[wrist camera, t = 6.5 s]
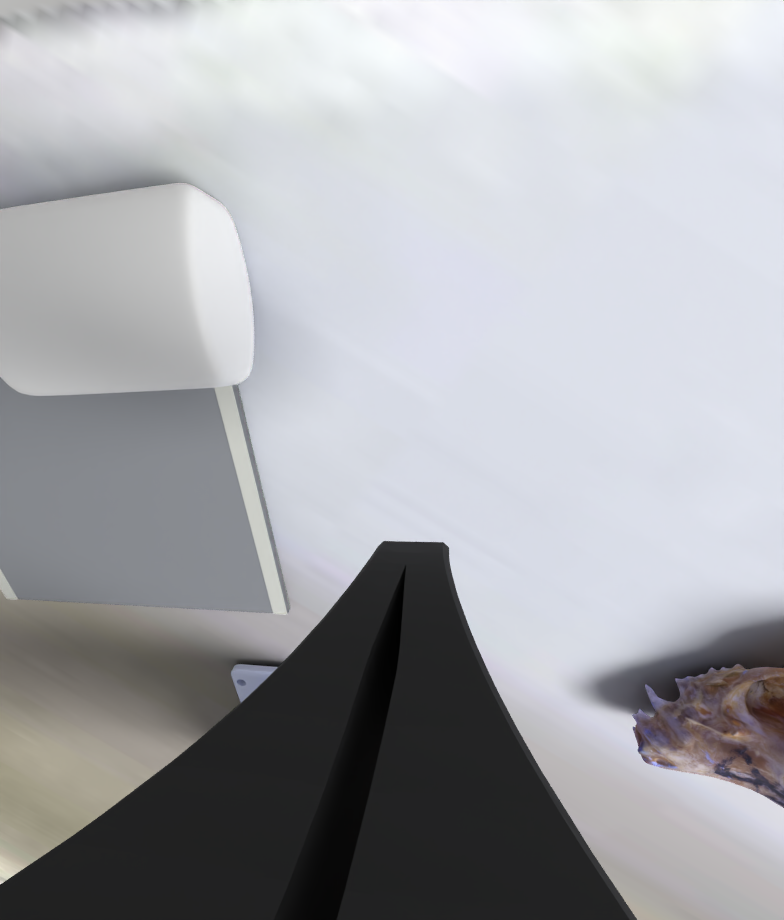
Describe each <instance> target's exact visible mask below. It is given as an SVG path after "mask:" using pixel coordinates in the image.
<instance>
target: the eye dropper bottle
mask: <svg viewBox="0 0 784 920" xmlns="http://www.w3.org/2000/svg"><path fill="white" fill-rule="evenodd" d="M253 359H254V314H253V303H252V295H251V288H250V282H249V277H248V272H247V267H246V263H245V258H244V254H243V250H242V247H241V243H240V239H239V236H238V232H237V229H236V226H235V223H234V221H233V219H232V217H231V215H230V213H229V211H228V210H227V209H226V208H225V207H224V205H223V204H222V203H221V202H219V201H218V200H216V199H215V198H213V197H211V196H210V195H208V194H207V193H205V192H203V191H202V190H200V189H198V188H196V187H195V186H193V185H190V184H187V183H171V184H164V185H157V186H150V187H143V188H136V189H129V190H123V191H116V192H109V193H102V194H95V195H88V196H81V197H75V198H68V199H61V200H55V201H48V202H42V203H35V204H28V205H22V206H15V207H9V208H4V209H0V377H1V378H2V379H3V380H4V381H5V382H6V383H7V384H8V385H9V386H10V387H12V388H13V389H15V390H16V391H17V392H19V393H22V394H27V395H32V396H56V395H81V394H102V393H123V392H143V391H162V390H182V389H200V388H216V387H224V386H231V385H236V384H239V383H241V382H243V381H244V380H245V379H247V378H248V377H249V375H250V373H251V370H252V367H253Z"/></svg>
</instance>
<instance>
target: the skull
mask: <svg viewBox="0 0 784 920" xmlns="http://www.w3.org/2000/svg"><path fill="white" fill-rule="evenodd" d="M675 681H676V683H677V686H678V688H679V691H680V697H679V699H677V700H676V701H675V702H670V701H669V702H668V701H666V700H663V699H661V698H659V697H657V695H656V694H655V692H654V691H653V690H652V689H651V688H650V687H649V686H648V685H645V688H646V691H647V693H648V696H649V698H650V701H651V704H652V706H653V708H654V710H655V712H656V714H655V716H654V717H652V718H650V717H649V716H648V715H647V714H645V713H644V712H643V711H642V710H641V709H640V708H639V711H638V713H637V714H633V715H632V716H633V718H634V719H635V720H636V722H637V725H636V727H633V730H634V733H635V737H636V740H637V742H638V746H639V748H638V752H639V753H640V754H641V756H642V758H643V760H644V761H645V762H646V763H648V764H650V765H654V766H658V767H661V768H665V769H669V770H675V771H681V772H688V773H694V774H699V775H705V776H711V777H715V778H719V779H722V780H725V781H729V782H732V783H735V784H738V785H740V786H743V787H746V788H749V789H751V790H753V791H755V792H757V793H760V794H762V795H764V796H765V797H767V798H769V799H770V800H772V801H773V802H775V803H776V804H778V805H780V806H782V807H783V808H784V668H775V667H758V668H752V669H745V668H744V667H743V666H741V665H740V664H736V665H735V666H734V667H733V668H725V667H722V668H721V669H720V670H715V669H714V668H710V669H709V671H708V672H707V674H700V675H699V676H696V677H691V676H687V677H686V678H684V679H677V678H675Z"/></svg>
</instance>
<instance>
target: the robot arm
mask: <svg viewBox="0 0 784 920" xmlns="http://www.w3.org/2000/svg"><path fill="white" fill-rule="evenodd" d="M231 676H232V679H233V682H234V685H235V688H236V691H237V694H238V697H239V699H240V702H241V703H240V704H239V705H238V706H237V707H236V708H234V709H233V710H232V711H231V712H230V713H229V714H228V715H226V716H225V717H224V718H223V719H222V720H221V721H220V722H218V723H217V724H216V725H215V726H214V727H213V728H212V729H210V730H209V731H208V732H207V733H206V734H205V735H204V736H202V737H201V738H200V739H199V740H198V741H196V742H195V743H194V744H193V745H192V746H190V747H189V748H188V749H187V750H186V751H184V752H183V753H182V754H181V755H179V756H178V757H177V758H176V759H174V760H173V761H172V762H171V763H169V764H168V765H167V766H165V767H164V768H163V769H161V770H160V771H159V772H157V773H156V774H155V775H154V776H152V777H151V778H150V779H148V780H147V781H146V782H144V783H143V784H142V785H140V786H139V787H138V788H136V789H135V790H134V791H133V792H131V793H130V794H129V795H127V796H126V797H125V798H123V799H122V800H121V801H119V802H118V803H117V804H115V805H114V806H113V807H112V808H110V809H109V810H108V811H106V812H105V813H104V814H102V815H101V816H99V817H98V818H97V819H95V820H94V821H93V822H91V823H90V824H88V825H87V826H86V827H84V828H83V829H82V830H80V831H79V832H77V833H76V834H75V835H73V836H72V837H70V838H69V839H67V840H66V841H64V842H63V843H61V844H60V845H58V846H57V847H55V848H54V849H52V850H51V851H50V852H48V853H47V854H45V855H44V856H42V857H41V858H39V859H38V860H36V861H35V862H33V863H32V864H30V865H29V866H27V867H26V868H24V869H23V870H21V871H20V872H18V873H17V874H15V875H14V876H12V877H11V878H9V879H8V880H7V881H5V882H4V883H2V884H1V885H0V920H637V919H636V917H635V916H634V914H633V913H632V911H631V910H630V908H629V907H628V905H627V904H626V902H625V901H624V899H623V898H622V896H621V895H620V893H619V892H618V890H617V889H616V887H615V886H614V884H613V883H612V882H611V880H610V879H609V877H608V876H607V874H606V873H605V871H604V870H603V868H602V867H601V865H600V864H599V862H598V861H597V859H596V858H595V856H594V855H593V853H592V852H591V850H590V848H589V847H588V845H587V844H586V842H585V840H584V839H583V837H582V836H581V834H580V832H579V831H578V829H577V828H576V826H575V824H574V823H573V821H572V819H571V818H570V816H569V815H568V813H567V811H566V810H565V808H564V807H563V805H562V803H561V802H560V800H559V799H558V797H557V795H556V794H555V792H554V791H553V789H552V787H551V786H550V784H549V783H548V781H547V779H546V778H545V776H544V775H543V773H542V771H541V770H540V768H539V766H538V764H537V763H536V761H535V759H534V757H533V756H532V754H531V752H530V750H529V749H528V747H527V745H526V743H525V741H524V740H523V738H522V736H521V734H520V733H519V731H518V729H517V727H516V725H515V723H514V722H513V720H512V718H511V716H510V714H509V712H508V710H507V708H506V706H505V705H504V703H503V701H502V699H501V697H500V695H499V693H498V691H497V689H496V687H495V685H494V683H493V681H492V678H491V676H490V674H489V672H488V670H487V668H486V666H485V663H484V661H483V659H482V657H481V654H480V652H479V650H478V648H477V645H476V643H475V641H474V638H473V636H472V633H471V631H470V628H469V626H468V623H467V620H466V617H465V615H464V612H463V609H462V607H461V604H460V601H459V598H458V595H457V592H456V588H455V584H454V581H453V577H452V573H451V568H450V562H449V547H448V546H447V545H445V544H444V543H443V542H394V541H383V542H382V543H381V544H380V545H379V546H378V548H377V549H376V551H375V552H374V553H373V555H372V556H371V558H370V559H369V560H368V562H367V563H366V565H365V566H364V567H363V569H362V570H361V572H360V573H359V574H358V575H357V577H356V578H355V579H354V581H353V582H352V583H351V585H350V586H349V587H348V589H347V590H346V591H345V592H344V594H343V595H342V596H341V597H340V598H339V600H338V601H337V602H336V603H335V605H334V606H333V607H332V608H331V610H330V611H329V612H328V613H327V614H326V616H325V617H324V618H323V619H322V620H321V621H320V623H319V624H318V625H317V626H316V627H315V628H314V629H313V630H312V631H311V633H310V634H309V635H308V636H307V637H306V638H305V639H304V640H303V641H302V642H301V644H300V645H299V646H298V647H297V648H296V649H295V650H294V651H293V652H292V653H291V654H290V656H289V657H288V658H287V659H286V660H285V661H284V662H283V663H282V664H281V665H280V666H279V667H271V666H258V665H245V664H237V665H235V666H234V668H233V669H232V671H231Z"/></svg>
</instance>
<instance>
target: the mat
mask: <svg viewBox="0 0 784 920" xmlns="http://www.w3.org/2000/svg"><path fill="white" fill-rule="evenodd" d="M0 589H1V591H2V593H3V594H4V596H5V598H6V599H14V600H18V599H25V600H43V601H61V602H79V603H97V604H115V605H133V606H151V607H169V608H187V609H205V610H223V611H241V612H259V613H273V614H283V615H287V614H288V612H289V610H290V604H289V600H288V596H287V592H286V587H285V583H284V579H283V575H282V570H281V566H280V562H279V558H278V554H277V549H276V545H275V541H274V537H273V532H272V528H271V524H270V520H269V515H268V511H267V507H266V503H265V499H264V494H263V490H262V486H261V482H260V477H259V473H258V469H257V465H256V461H255V456H254V452H253V448H252V444H251V439H250V435H249V431H248V427H247V422H246V418H245V414H244V410H243V406H242V401H241V397H240V393H239V389H238V384H236V385H231V386H224V387H216V388H200V389H182V390H162V391H143V392H123V393H102V394H81V395H56V396H32V395H27V394H22V393H19V392H17V391H16V390H15V389H13V388H12V387H10V386H9V385H8V384H7V383H6V382H5V381H4V380H3V379H2V378H1V377H0Z"/></svg>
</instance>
